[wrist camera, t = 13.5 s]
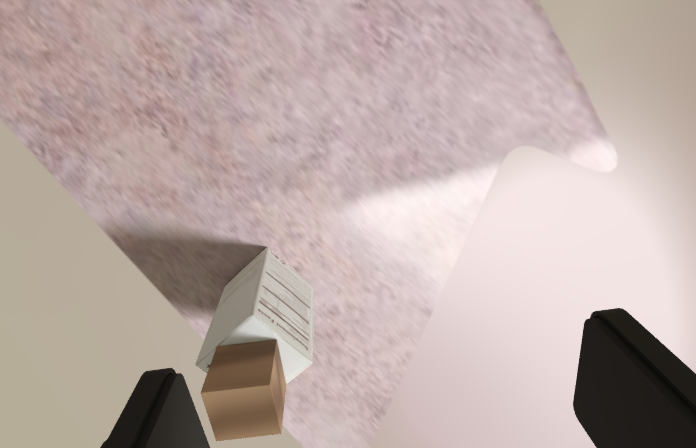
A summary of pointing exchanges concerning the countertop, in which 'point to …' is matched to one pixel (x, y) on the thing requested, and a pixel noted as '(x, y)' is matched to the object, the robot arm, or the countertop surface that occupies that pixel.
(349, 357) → the countertop surface
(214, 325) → the supplement box
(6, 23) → the countertop surface
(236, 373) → the walnut cube
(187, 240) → the countertop surface
